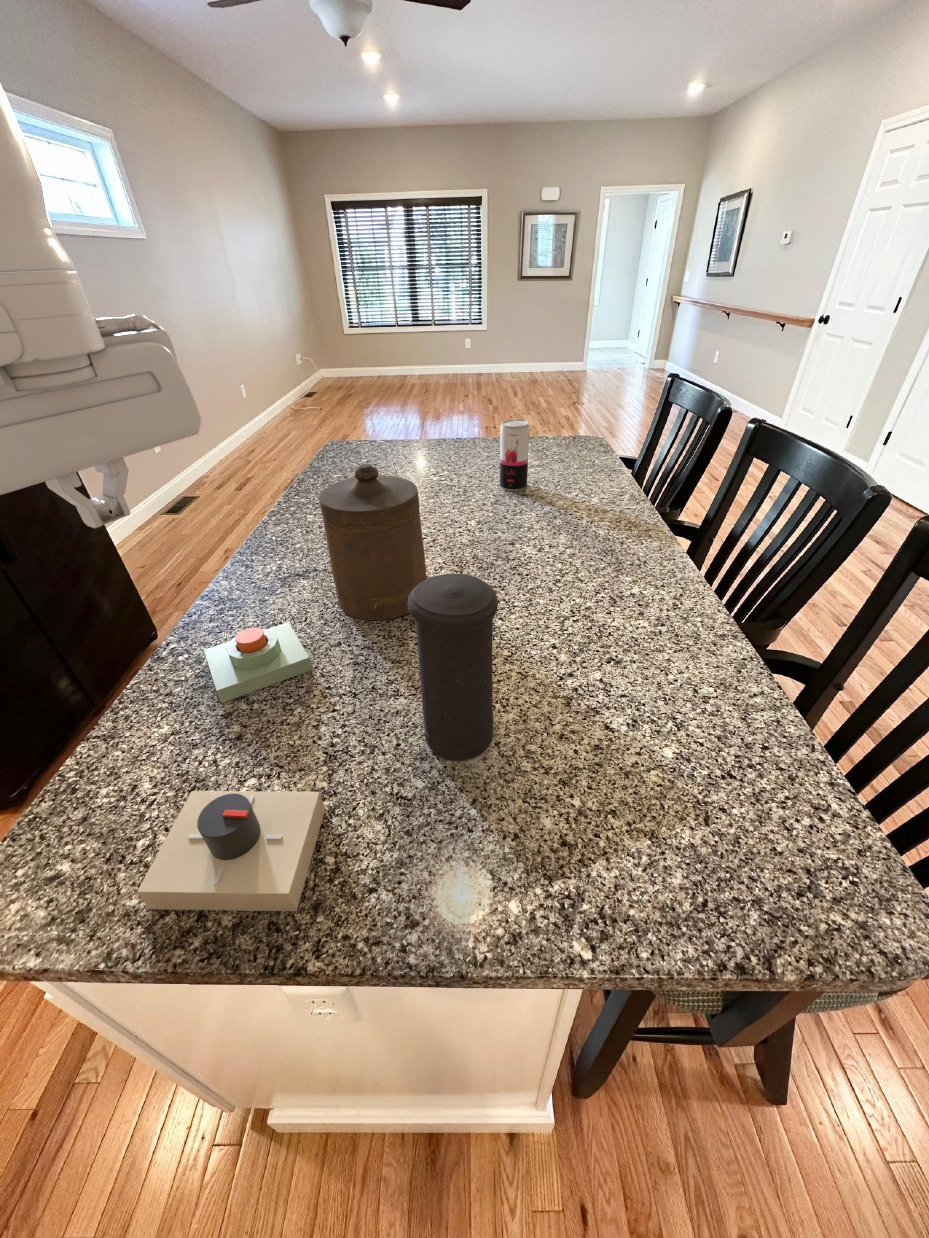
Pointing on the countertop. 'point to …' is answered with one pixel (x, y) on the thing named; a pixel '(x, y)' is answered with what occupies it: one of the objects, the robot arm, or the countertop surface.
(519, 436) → the beverage can
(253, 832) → the timer knob
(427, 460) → the countertop surface
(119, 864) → the countertop surface
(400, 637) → the countertop surface
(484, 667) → the container
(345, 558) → the wooden container
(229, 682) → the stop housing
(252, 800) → the panel
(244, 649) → the stop button
